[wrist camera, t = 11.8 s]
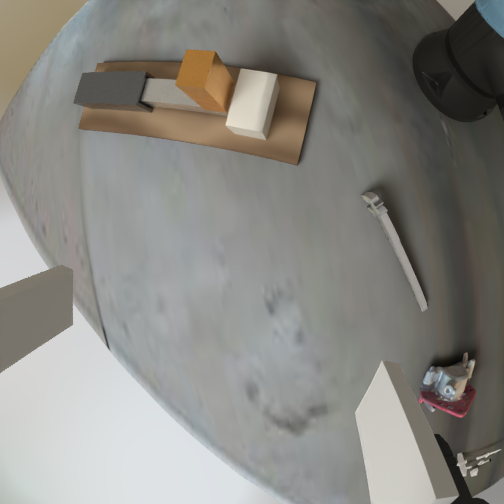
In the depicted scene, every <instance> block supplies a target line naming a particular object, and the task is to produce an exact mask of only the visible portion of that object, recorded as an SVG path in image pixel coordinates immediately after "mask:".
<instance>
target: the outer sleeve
mask: <svg viewBox="0 0 504 504" xmlns="http://www.w3.org/2000/svg"><path fill="white" fill-rule="evenodd" d="M146 78H152V79H156V78H155V77H153V76H152V75H151V74H149V73H148V72H146V71H112V72H91V73H83V74H82V77H81V80H80V83H79V86H78V89H77V93H76V96H75V99H74V103H75V104H78V105H81V106H84V107H87V108H90V109H105V110H123V111H136V112H148V113H152V112H153V108H154V107H150V106H145V105H143V104H141V103H139V99H140V96H141V93H142V89H143V86H144V83H145V80H146Z"/></svg>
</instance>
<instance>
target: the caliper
mask: <svg viewBox="0 0 504 504" xmlns="http://www.w3.org/2000/svg"><path fill="white" fill-rule="evenodd" d="M361 197H362V199H363V200H365V201H366V202H368V203H369V204H370V205H369V206H367V208H368V209H369V210H370V212H371V213H372V214H373V215H374V216H375V217H376V218H377V219H378V221H379V222H380V225H381V227H382V229H383V231H384V233H385V235H386V237H387V239H388V240H389V241H390V243H391V245H392V247H393V249H394V251H395V253H396V255H397V257H398V259H399V261H400V263H401V266H402V268H403V270H404V272H405V274H406V276H407V279H408V281H409V283H410V285H411V288H412V290H413V292H414V295H415V297H416V299H417V301H418V303H419V305H420V307H421V310H422V312H423V311H424V310H426V309H427V308H428V307H427V303H426V300H425V298H424V295H423V293H422V290H421V288H420V285H419V283H418V281H417V278H416V276H415V274H414V271H413V269H412V267H411V264H410V262H409V260H408V258H407V256H406V253H405V251H404V249H403V247H402V245H401V243H400V239H399V237H398V235H397V233H396V231H395V228H394V226H393V224H392V222H391V220H390V218H389V216H388V214H387V213H386V212H387V211H388V210H387V209H386V208H385V207H384V206H383V205H382V204H383V202H382V201H381V200H379V198H378V196H377V195H375V194H374V193H372V192H366V193H364V194H363V195H361Z"/></svg>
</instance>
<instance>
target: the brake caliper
mask: <svg viewBox="0 0 504 504" xmlns="http://www.w3.org/2000/svg"><path fill="white" fill-rule="evenodd" d="M467 360H468V353H465V354H464V356H463V360H462V361H461V362H457V363H456V364H454V365H451V366H447V367H440V366H439V367H436V368H435V366H432V367H430V368H429V370H427V372H426V373H425V375H424V379H423V382H422V384H421V387H420V392H421V394H420V397H419V400H418V402H419V403H423V401H424V403H425V405H426V406H427V407H428V408H429V410H430V411H432V412H434V411H435V409H436V408H435V407H437V408H439V409H441V410H444V411H445V412H448V413H450V414H452V415H455V416H457V417H464V416H465V415H466V413H467V411H468V409H469V407H470V405H471V403H472V401H473V399H474V397H475V393H476V390H475V389H474V388H473V387H472V386H471V385H470V380H471V376H472V372H473V369H474V365H475V359H471V360H469V361H467ZM462 395H466V396H464V397H463V398H461V397H462ZM466 400H468V401H466ZM440 404H441V405H440ZM461 404H465V406H461ZM447 406H451V407H452V408H447Z"/></svg>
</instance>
